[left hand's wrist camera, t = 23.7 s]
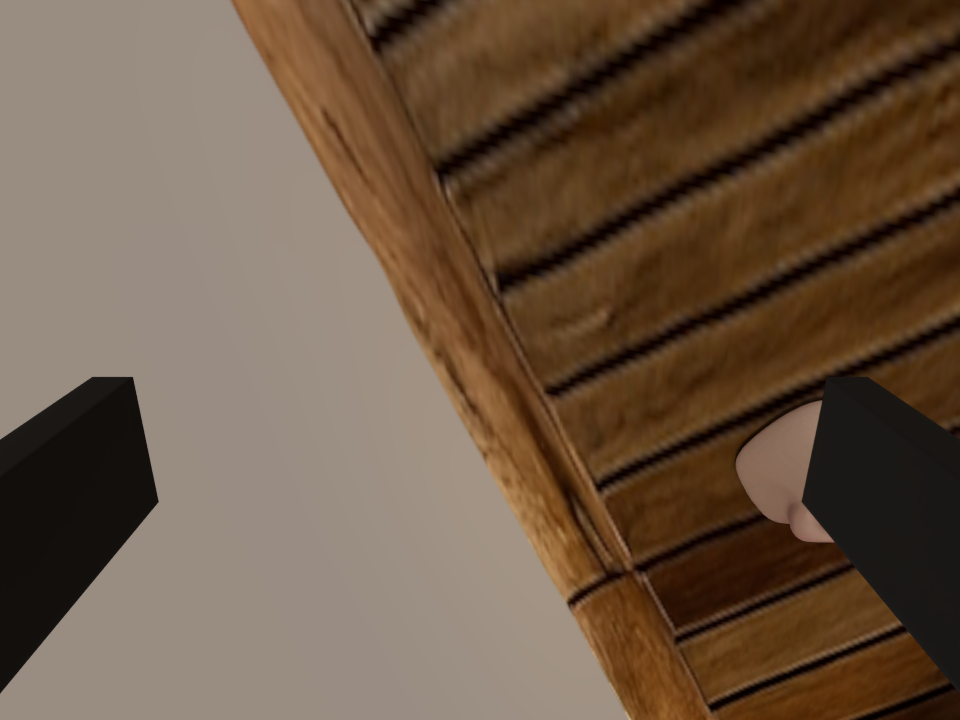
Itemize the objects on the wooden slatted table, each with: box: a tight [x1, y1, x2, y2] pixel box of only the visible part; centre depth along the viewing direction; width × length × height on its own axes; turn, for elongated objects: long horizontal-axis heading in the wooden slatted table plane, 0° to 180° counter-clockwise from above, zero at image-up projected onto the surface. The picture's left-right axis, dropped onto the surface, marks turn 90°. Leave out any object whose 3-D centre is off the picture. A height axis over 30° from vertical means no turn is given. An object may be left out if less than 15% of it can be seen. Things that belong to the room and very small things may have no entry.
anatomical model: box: [736, 400, 834, 542], centre depth 47 cm, size 13×4×12 cm
